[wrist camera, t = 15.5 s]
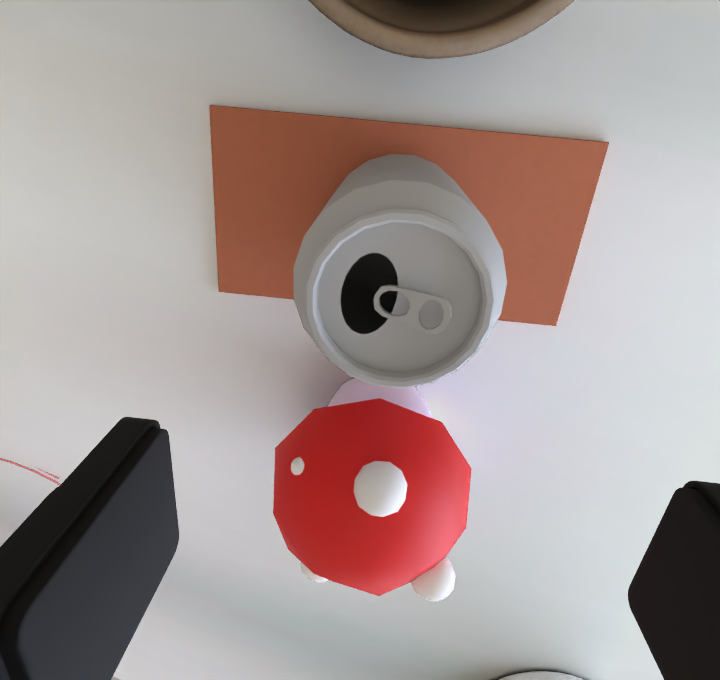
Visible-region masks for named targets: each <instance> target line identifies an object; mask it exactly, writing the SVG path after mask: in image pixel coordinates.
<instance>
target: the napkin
mask: <svg viewBox="0 0 720 680" xmlns="http://www.w3.org/2000/svg"><path fill="white" fill-rule="evenodd" d="M210 125H211V145H212V165H213V185H214V205H215V226H216V246H217V266H218V286H219V292H227V293H237V294H246V295H256V296H266V297H276V298H286V299H294V264H295V261H296V258H297V255H298V252H299V249H300V247H301V244H302V241H303V238H304V235H305V234H306V233H307V231H308V230H309V228H310V227H311V225H312V224H313V223H314V221H315V220H316V218H317V217H318V215H319V214H320V213H321V211H322V210H323V208H324V207H325V205H326V204H327V203H328V201H329V200H330V198H331V197H332V195H333V194H334V193H335V191H336V190H337V189H338V187H339V186H340V185H341V183H342V182H343V181H344V179H345V178H346V177H347V176H348V174H349V173H351V172H352V171H353V170H355V169H356V168H358V167H359V166H361V165H362V164H364V163H365V162H367V161H368V160H371V159H375V158H378V157H382V156H386V155H389V154H401V155H416V156H418V157H420V158H423V159H425V160H427V161H430V162H432V163H434V164H437V165H438V166H439V167H440V168H441V169H442V170H443V171H445V172H446V173H447V174H448V175H449V176H450V177H451V178H452V179H453V180H454V181H455V182H456V183H457V184H458V186H459V187H460V188H461V189H462V190H463V192H464V193H465V194H466V195H467V197H468V198H469V199H470V200H471V202H472V203H473V204H474V205H475V206H476V208H477V209H478V210H479V211H480V213H481V214H482V215H483V216H484V217H485V219H486V220H487V222H488V224H489V225H490V227H491V229H492V231H493V233H494V235H495V237H496V239H497V241H498V242H499V244H500V246H501V248H502V250H503V257H504V264H505V271H506V278H507V286H506V291H505V296H504V301H503V306H502V311H501V315H500V317H499V318H498V320H502V321H512V322H522V323H532V324H542V325H552V326H556V324H557V320H558V317H559V314H560V310H561V307H562V303H563V300H564V296H565V293H566V289H567V286H568V283H569V279H570V276H571V272H572V269H573V265H574V262H575V258H576V255H577V251H578V248H579V245H580V241H581V238H582V234H583V231H584V227H585V224H586V220H587V217H588V214H589V210H590V207H591V203H592V200H593V196H594V193H595V189H596V186H597V182H598V179H599V176H600V172H601V169H602V165H603V162H604V158H605V155H606V151H607V148H608V145H609V142H600V141H589V140H579V139H568V138H557V137H546V136H536V135H525V134H514V133H504V132H493V131H482V130H472V129H461V128H450V127H439V126H429V125H418V124H407V123H397V122H386V121H375V120H364V119H354V118H343V117H332V116H322V115H311V114H300V113H289V112H279V111H268V110H257V109H247V108H236V107H225V106H214V105H210Z"/></svg>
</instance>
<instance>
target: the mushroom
mask: <svg viewBox="0 0 720 680" xmlns="http://www.w3.org/2000/svg"><path fill="white" fill-rule="evenodd" d="M470 478H471V467H470V466H469V464H468V463H467V461H466V459H465V458H464V456H463V455H462V453H461V452H460V450H459V448H458V447H457V445H456V444H455V442H454V441H453V439H452V437H451V436H450V434H449V433H448V431H447V430H446V428H445V426H444V425H443V423H442V422H440V421H438V420H435V419H433V418H432V416H431V413H430V411H429V409H428V406H427V404H426V402H425V400H424V398H423V397H422V396H421V394H420V393H419V391H418V390H417V389H416V387H415V386H413V387H408V388H396V387H384V386H376V385H373V384H370V383H367V382H365V381H362V380H359V379H357V378H353V379H351V380H349V381H347V382H345V383H344V384H342V386H341V387H340V388H339V389H338V391H337V392H336V393H335V395H334V396H333V397H332V399H331V401H330V402H329V404H328V406H327V407H323V408H317V409H314V410H313V411H312V412H311V413H310V414H309V415H308V416H307V417H306V418H305V419H304V420H303V421H302V422H301V423H300V424H299V425H298V426H297V427H296V428H295V429H294V430H293V431H292V432H291V433H290V434H289V435H288V436H287V437H286V438H285V439H284V440H283V441H282V442H281V443H280V444H279V445H278V446H277V447H276V448H275V476H274V509H273V514H274V516H275V519H276V521H277V524H278V526H279V528H280V531H281V533H282V535H283V538H284V540H285V543H286V545H287V547H288V549H289V550H290V551H291V552H292V553H293V554H294V555H295V556H296V557H297V558H298V559H299V560H300V561H301V568H302V571H303V573H304V575H305V576H306V577H307V578H308V579H310V580H313V581H316V582H319V583H322V582H325V581H327V580H331V581H333V582H337V583H340V584H343V585H346V586H349V587H352V588H356V589H359V590H362V591H365V592H368V593H371V594H374V595H378V596H380V595H382V594H385V593H387V592H389V591H391V590H394V589H396V588H398V587H400V586H402V585H405V584H407V583H409V582H411V583H412V586H413V588H414V591H415V592H416V593H417V594H419V595H420V596H421V597H423V598H424V599H427V600H430V601H434V602H438V601H440V600H442V599H444V598H446V597H448V595H449V594H450V593H451V591H452V590H453V589H454V584H455V571H454V569H453V567H452V564H451V562H450V561H449V560H448V559H447V558H445V557H446V555H447V554H448V553H449V551H450V550H451V548H452V547H453V546H454V544H455V543H456V541H457V540H458V538H459V537H460V536H461V534H462V533H463V531H464V530H465V529H466V523H467V512H468V501H469V489H470Z"/></svg>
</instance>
